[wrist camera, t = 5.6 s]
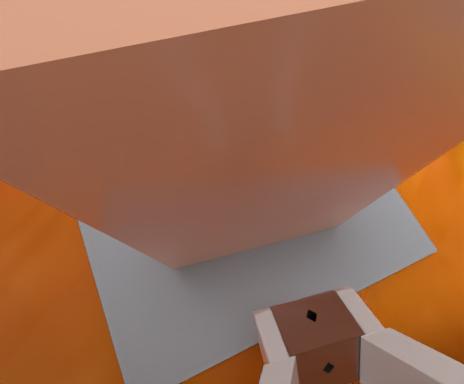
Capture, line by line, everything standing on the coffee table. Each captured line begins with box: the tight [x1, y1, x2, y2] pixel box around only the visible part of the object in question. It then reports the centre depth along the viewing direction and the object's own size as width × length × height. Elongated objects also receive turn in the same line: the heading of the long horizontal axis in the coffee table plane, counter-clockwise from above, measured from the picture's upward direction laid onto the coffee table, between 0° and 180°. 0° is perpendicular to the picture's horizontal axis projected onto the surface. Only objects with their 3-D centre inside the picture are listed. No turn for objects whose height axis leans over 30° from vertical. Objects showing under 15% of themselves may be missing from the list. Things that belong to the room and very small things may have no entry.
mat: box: [78, 188, 438, 384], centre depth 18 cm, size 17×22×1 cm
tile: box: [0, 0, 464, 269], centre depth 10 cm, size 2×9×14 cm, turn 105°
